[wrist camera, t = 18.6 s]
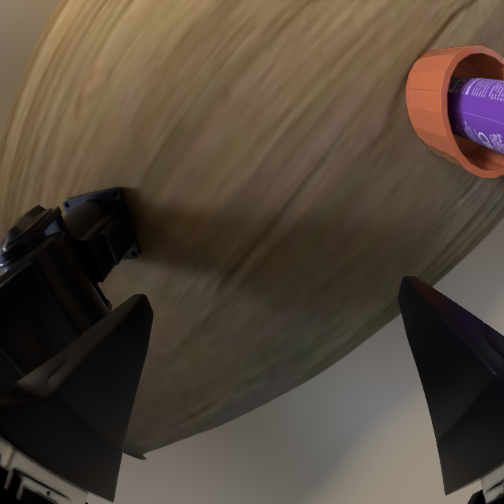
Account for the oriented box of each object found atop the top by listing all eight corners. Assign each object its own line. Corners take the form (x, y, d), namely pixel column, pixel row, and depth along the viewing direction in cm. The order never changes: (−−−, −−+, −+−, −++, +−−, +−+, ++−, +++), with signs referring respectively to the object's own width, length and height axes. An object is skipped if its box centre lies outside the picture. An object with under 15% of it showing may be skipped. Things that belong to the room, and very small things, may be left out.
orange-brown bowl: (405, 156, 19) (438, 176, 14) (400, 40, 14) (434, 31, 10) (488, 161, 18) (524, 181, 13) (488, 62, 13) (527, 65, 9)
